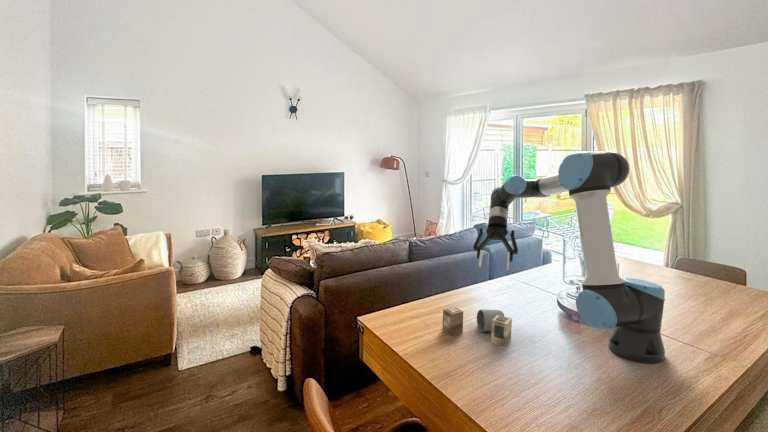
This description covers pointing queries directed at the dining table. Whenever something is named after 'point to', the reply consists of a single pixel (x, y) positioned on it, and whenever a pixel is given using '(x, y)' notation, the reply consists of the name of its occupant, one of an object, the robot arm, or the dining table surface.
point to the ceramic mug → (487, 319)
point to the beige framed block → (501, 330)
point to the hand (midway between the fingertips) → (493, 267)
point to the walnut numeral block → (452, 321)
